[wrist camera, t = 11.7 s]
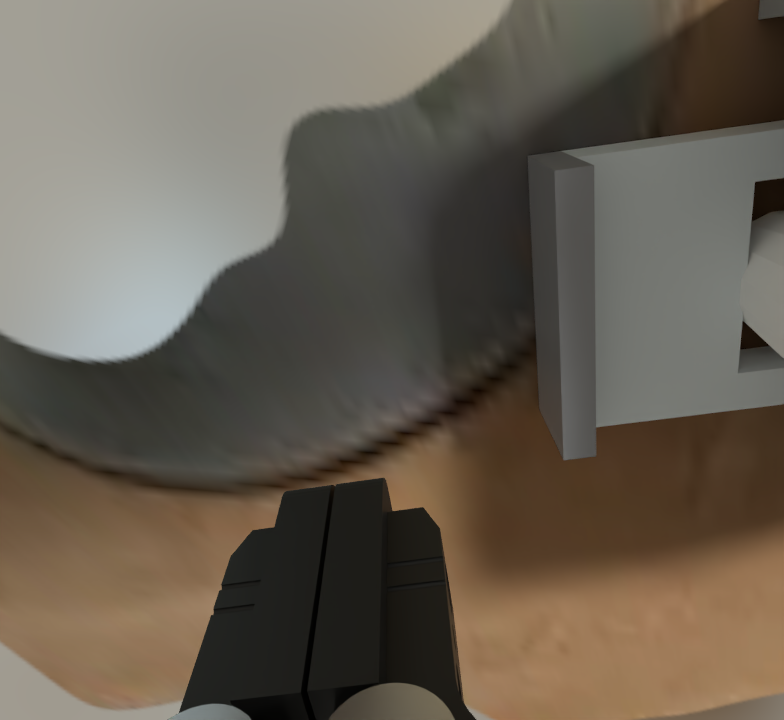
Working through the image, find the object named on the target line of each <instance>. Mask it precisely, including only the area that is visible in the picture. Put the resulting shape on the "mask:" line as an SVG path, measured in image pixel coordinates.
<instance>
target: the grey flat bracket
mask: <svg viewBox="0 0 784 720" xmlns="http://www.w3.org/2000/svg"><path fill="white" fill-rule="evenodd" d="M527 159H528V181H529V202H530V223H531V245H532V266H533V287H534V309H535V330H536V351H537V373H538V394H539V410H540V412H541V414H542V416H543V418H544V420H545V422H546V424H547V427H548V429H549V431H550V433H551V435H552V437H553V439H554V441H555V443H556V446H557V448H558V450H559V452H560V454H561V456H562V458H563V460H570V459H578V458H587V457H595V456H596V427H603V426H611V425H619V424H627V423H635V422H643V421H652V420H660V419H668V418H676V417H684V416H692V415H701V414H709V413H717V412H725V411H733V410H741V409H749V408H758V407H766V406H774V405H782V404H784V359H783V358H782V357H781V356H780V355H779V354H778V353H777V352H776V351H775V350H774V349H773V348H772V347H771V346H765V347H757V348H750V349H742V350H740V344H741V333H742V322H743V312H742V310H741V307H740V304H739V300H740V289H741V278H742V276H743V274H744V272H745V270H746V268H747V266H748V255H749V243H750V232H751V221H752V210H753V199H754V188H755V182H757V181H765V180H772V179H779V178H784V120H781V121H773V122H766V123H759V124H752V125H745V126H737V127H730V128H723V129H716V130H709V131H701V132H694V133H687V134H680V135H673V136H665V137H658V138H651V139H644V140H637V141H629V142H622V143H615V144H608V145H601V146H593V147H586V148H579V149H572V150H565V151H557V152H550V153H543V154H536V155H529V156H527Z"/></svg>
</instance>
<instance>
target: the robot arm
mask: <svg viewBox="0 0 784 720" xmlns="http://www.w3.org/2000/svg"><path fill="white" fill-rule="evenodd" d="M221 585H222V590H220V591H219V593H218V597H217V600H216V603H215V606H214V615H211V618H210V621H209V624H208V627H207V630H206V633H205V636H204V639H203V642H202V645H201V648H200V651H199V654H198V657H197V660H196V663H195V666H194V669H193V672H192V675H191V678H190V681H189V684H188V687H187V690H186V693H185V696H184V699H183V702H182V705H181V708H180V711H179V713H178V714H176V715H175V716H173V717H171V718H169V719H168V720H476V719H475V718H474V717H473V715H472V714H471V713H470V712H469V711H468V709H467V707H466V706H465V704H464V700H463V692H462V683H461V674H460V667H459V657H458V648H457V641H456V631H455V622H454V614H453V606H452V600H451V594H450V588H449V582H448V575H447V569H446V563H445V557H444V551H443V545H442V539H441V533H440V528H439V527H438V526H437V524H436V523H435V522H434V521H433V519H432V518H431V517H430V515H429V514H428V513H427V512H426V510H425V509H424V508H423V507H422V508H414V509H407V510H399V511H392V507H391V501H390V496H389V491H388V487H387V483H386V480H385V478H379V479H372V480H364V481H357V482H350V483H343V484H337V485H336V486H334V485H329V486H322V487H315V488H307V489H300V490H293V491H286V492H284V494H283V496H282V500H281V504H280V508H279V512H278V515H277V519H276V523H275V527H274V528H266V529H259V530H252V532H251V533H250V534H249V535H248V536H247V538H246V539H245V540H244V541H243V542H242V544H241V545H240V546H239V547H238V548H237V550H236V551H235V552H234V553H233V554H232V555H231V557H230V560H229V563H228V566H227V569H226V572H225V575H224V578H223V581H222V584H221Z"/></svg>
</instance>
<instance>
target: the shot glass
mask: <svg viewBox="0 0 784 720" xmlns="http://www.w3.org/2000/svg"><path fill="white" fill-rule="evenodd" d="M739 304H740V307H741V310H742V312H743V321H744V322H745V323H746V324H747V325H748V326H749V327H750V328H751V329H752V330H753V331H755V332H756V333H757V334H758V335H759V336H760V337H761V338H762V339H763V340H764V341H765V342H766V343H767V344H768V345H770V346H771V347H772V348H773V349H774V350H775V351H776V352H777V353H778V354H779V355H780V356H781V357H782V358H783V359H784V210H783V211H775V212H770V213H768V214H766V215H764V216H762V217H760V218H758V219H756V220H754V221H752V222H751V232H750V243H749V255H748V266H747V268H746V270H745V272H744V274H743V276H742V278H741V289H740V300H739Z"/></svg>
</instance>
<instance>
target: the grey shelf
mask: <svg viewBox="0 0 784 720" xmlns="http://www.w3.org/2000/svg"><path fill="white" fill-rule="evenodd" d="M780 16H784V0H760V4H759V16H758V20H760V19H767V18H773V17H780Z"/></svg>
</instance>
